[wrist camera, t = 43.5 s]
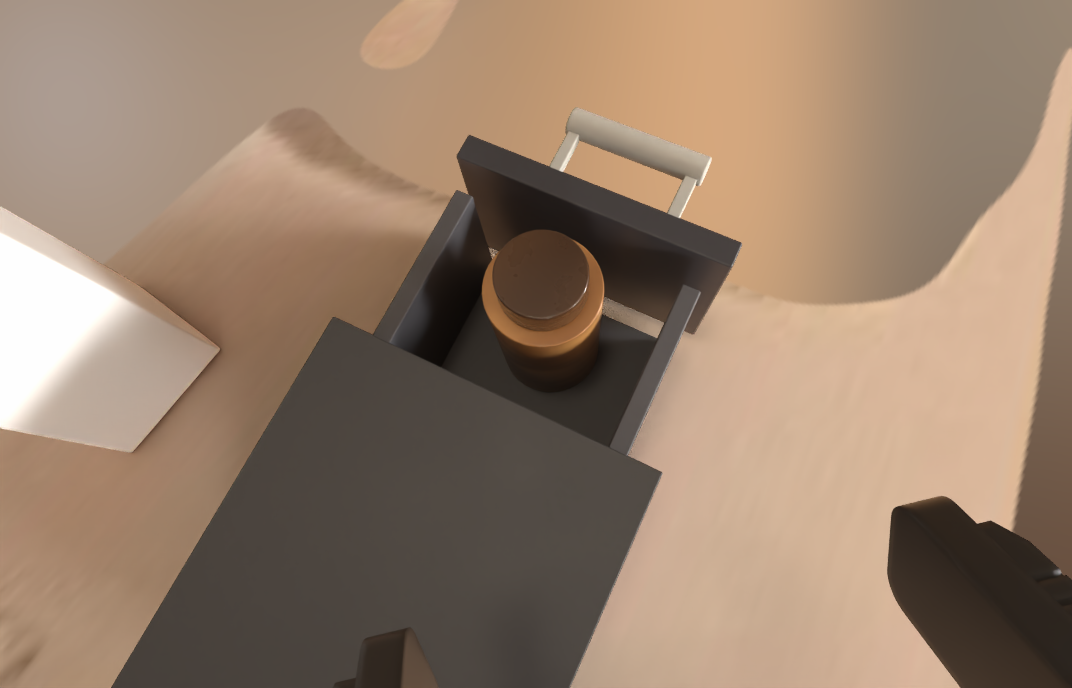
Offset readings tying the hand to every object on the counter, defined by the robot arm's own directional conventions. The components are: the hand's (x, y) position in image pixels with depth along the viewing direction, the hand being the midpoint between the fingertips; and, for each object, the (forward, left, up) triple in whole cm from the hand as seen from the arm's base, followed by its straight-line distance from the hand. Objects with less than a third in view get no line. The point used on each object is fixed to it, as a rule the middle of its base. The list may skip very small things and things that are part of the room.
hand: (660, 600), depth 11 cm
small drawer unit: (-7, -4, -22) cm, 23 cm away
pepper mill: (-7, +8, -20) cm, 23 cm away
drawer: (-7, +9, -21) cm, 24 cm away
